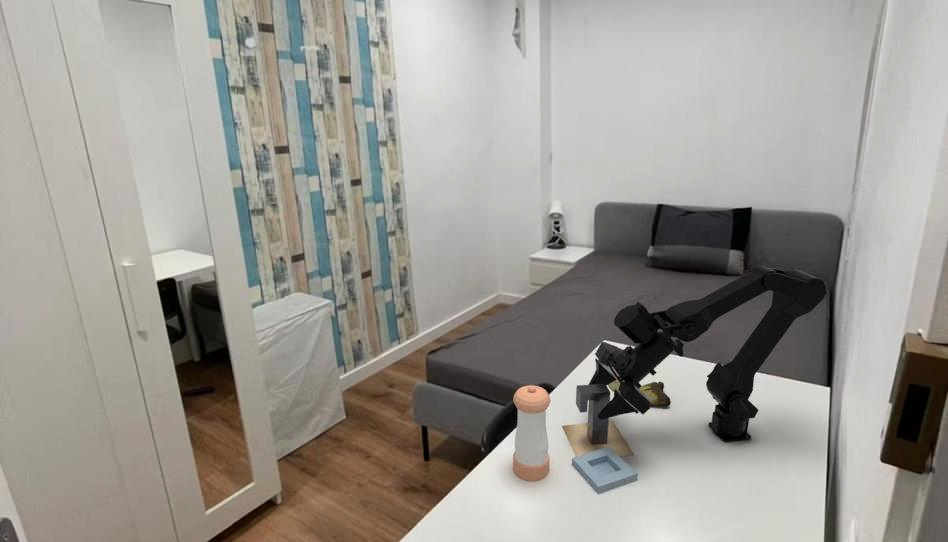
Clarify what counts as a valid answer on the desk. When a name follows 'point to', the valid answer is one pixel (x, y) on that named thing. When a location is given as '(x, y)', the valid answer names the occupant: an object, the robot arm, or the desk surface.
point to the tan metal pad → (583, 445)
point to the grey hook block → (594, 410)
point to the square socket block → (604, 469)
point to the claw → (649, 392)
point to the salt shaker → (531, 434)
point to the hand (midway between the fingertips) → (592, 405)
